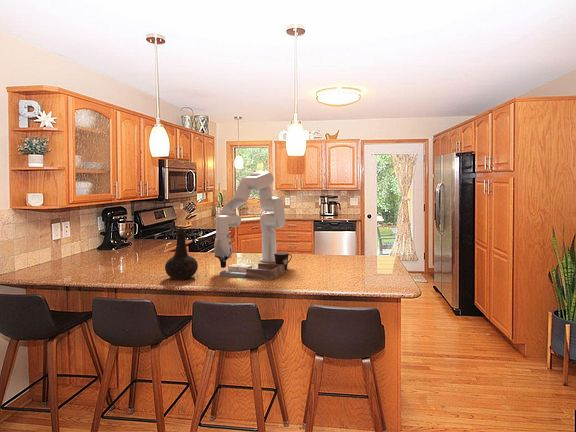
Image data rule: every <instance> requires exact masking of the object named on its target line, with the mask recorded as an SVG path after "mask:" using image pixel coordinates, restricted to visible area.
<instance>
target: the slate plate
mask: <svg viewBox="0 0 576 432" xmlns="http://www.w3.org/2000/svg"><path fill="white" fill-rule="evenodd" d="M252 269H258V267H253V266H252ZM219 277H230V278H231V277H232V278H243V279H244V278H245V279H246V272H243V271H229V270H228V268H227V269H225V270H222V271H220V272H219Z"/></svg>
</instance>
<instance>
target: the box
mask: <svg viewBox="0 0 576 432" xmlns="http://www.w3.org/2000/svg"><path fill="white" fill-rule="evenodd" d="M257 268H258V269H251V268H247V269H246V278H248V279H259V280H271V281H272V280H273V281H274V280H275V279H277V278H278V277H280V276H282V275H284V274H285V271H284V265H283V264H276V263H268V262H258V263H257ZM246 278H245V279H246Z"/></svg>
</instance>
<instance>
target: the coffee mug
mask: <svg viewBox="0 0 576 432" xmlns="http://www.w3.org/2000/svg"><path fill="white" fill-rule="evenodd" d="M276 252H277V251H276ZM274 255H275V262H274V264H283V265H284V272H286V271H287V270H288V264H289V263H290V262H291V260H292V257H293V256H292V254H290V253H289V252H288V251H280V252H279V251H278V252H277V253H274ZM289 256H290V259H289Z"/></svg>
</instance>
